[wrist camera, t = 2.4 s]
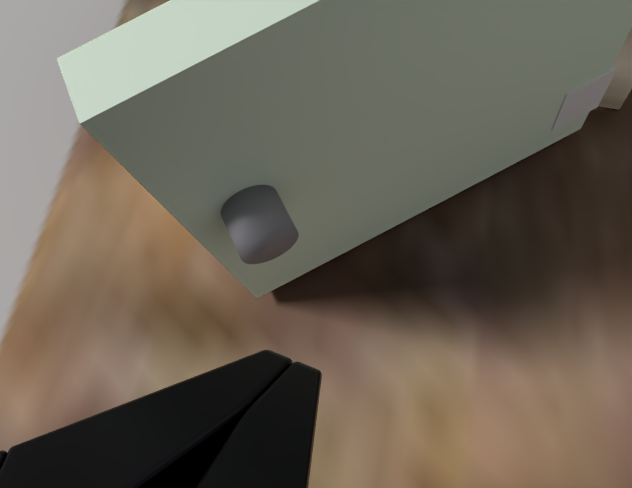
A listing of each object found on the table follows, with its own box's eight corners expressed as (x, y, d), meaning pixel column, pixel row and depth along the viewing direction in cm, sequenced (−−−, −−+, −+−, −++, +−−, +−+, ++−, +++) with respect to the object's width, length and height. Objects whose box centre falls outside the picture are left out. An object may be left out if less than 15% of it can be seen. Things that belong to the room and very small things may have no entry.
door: (609, 152, 17) (830, -195, 8) (271, 330, 17) (100, 182, 8) (557, 93, 18) (699, -273, 9) (238, 259, 18) (55, 56, 9)
